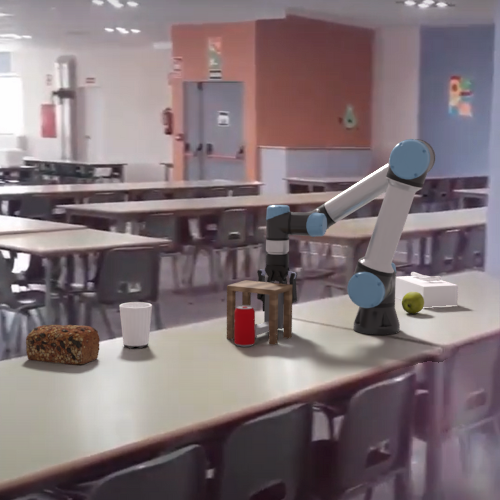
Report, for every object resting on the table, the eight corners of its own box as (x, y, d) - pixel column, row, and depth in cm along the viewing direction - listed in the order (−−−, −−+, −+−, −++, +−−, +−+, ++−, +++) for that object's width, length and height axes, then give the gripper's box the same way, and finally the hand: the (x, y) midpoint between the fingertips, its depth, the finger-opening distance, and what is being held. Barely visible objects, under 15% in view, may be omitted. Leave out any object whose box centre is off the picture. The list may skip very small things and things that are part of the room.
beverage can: (253, 342, 286) (254, 304, 284) (255, 347, 280) (255, 308, 278) (233, 342, 285) (233, 304, 284) (235, 347, 279) (235, 308, 278)
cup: (158, 344, 282) (158, 303, 281) (141, 351, 273) (141, 309, 272) (130, 341, 286) (130, 300, 285) (113, 347, 278) (112, 306, 276)
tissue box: (422, 309, 344) (423, 280, 342) (392, 298, 367) (393, 271, 366) (457, 307, 348) (458, 279, 347) (425, 296, 372) (426, 269, 370)
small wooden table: (291, 337, 294) (292, 284, 292) (274, 344, 283) (275, 290, 281) (244, 331, 302) (245, 280, 300) (226, 338, 291) (226, 285, 289)
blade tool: (288, 326, 304) (289, 290, 303) (255, 337, 284) (256, 298, 283) (272, 324, 307) (273, 288, 306) (238, 335, 287) (239, 297, 285)
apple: (427, 312, 336) (428, 291, 335) (417, 316, 329) (418, 294, 328) (407, 310, 340) (408, 289, 339) (397, 314, 333) (398, 292, 332)
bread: (100, 358, 265) (100, 324, 264) (80, 367, 255) (80, 331, 254) (46, 352, 272) (45, 319, 271) (24, 360, 262) (23, 326, 261)
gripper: (308, 253, 298) (307, 323, 301) (257, 249, 307) (256, 317, 310) (298, 256, 292) (297, 327, 295) (246, 251, 301) (245, 321, 304)
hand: (276, 322), depth 303 cm, fingers closed on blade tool, 6 cm apart
